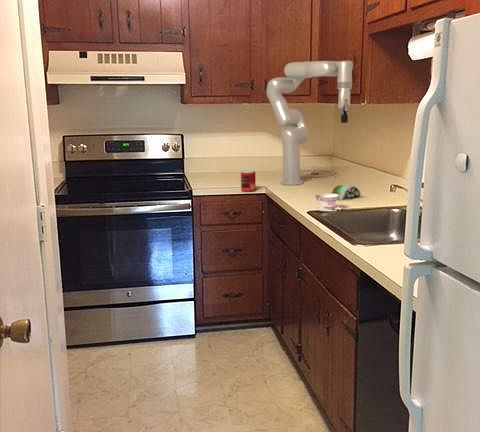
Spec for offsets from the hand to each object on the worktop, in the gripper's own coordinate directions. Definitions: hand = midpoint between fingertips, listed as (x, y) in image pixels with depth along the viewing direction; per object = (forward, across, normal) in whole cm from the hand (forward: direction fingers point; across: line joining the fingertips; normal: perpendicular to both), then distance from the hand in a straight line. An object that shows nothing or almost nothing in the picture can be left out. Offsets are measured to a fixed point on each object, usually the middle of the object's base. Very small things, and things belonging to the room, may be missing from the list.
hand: (344, 122), depth 278 cm
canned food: (+35, 0, -50) cm, 61 cm away
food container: (+32, +17, -4) cm, 36 cm away
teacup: (+36, +46, -12) cm, 60 cm away
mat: (+35, +22, -8) cm, 42 cm away
